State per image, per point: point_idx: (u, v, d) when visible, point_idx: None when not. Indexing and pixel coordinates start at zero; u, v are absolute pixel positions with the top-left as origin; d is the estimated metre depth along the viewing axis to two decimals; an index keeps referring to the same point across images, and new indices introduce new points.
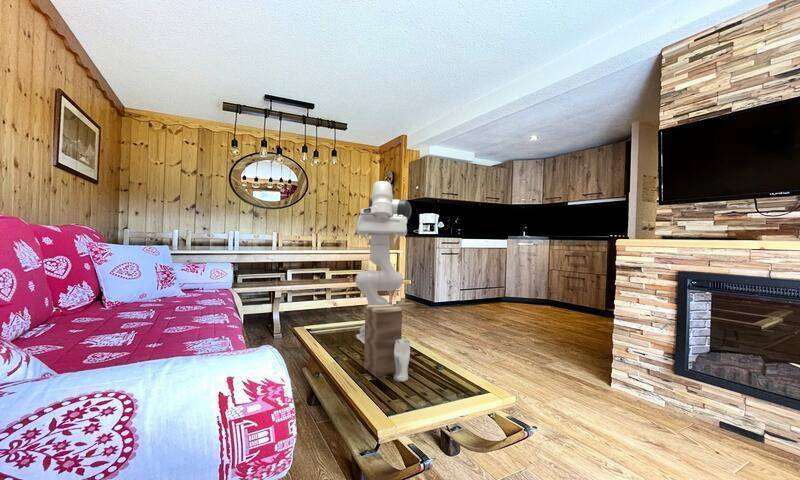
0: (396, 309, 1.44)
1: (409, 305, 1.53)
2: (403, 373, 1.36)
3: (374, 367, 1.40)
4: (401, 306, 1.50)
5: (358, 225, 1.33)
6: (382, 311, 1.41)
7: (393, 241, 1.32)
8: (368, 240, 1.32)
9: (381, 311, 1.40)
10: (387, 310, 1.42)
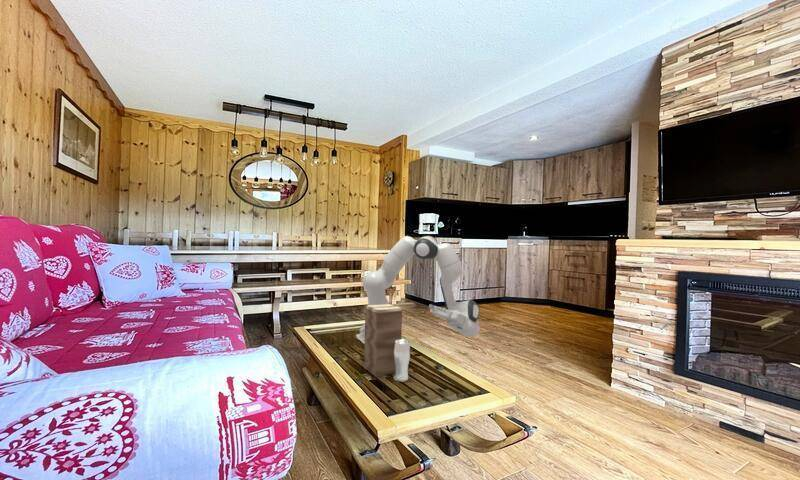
0: (396, 309, 1.44)
1: (409, 305, 1.53)
2: (403, 373, 1.36)
3: (374, 367, 1.40)
4: (401, 306, 1.50)
5: (456, 321, 1.58)
6: (382, 311, 1.41)
7: None
8: (443, 312, 1.59)
9: (381, 311, 1.40)
10: (387, 310, 1.42)
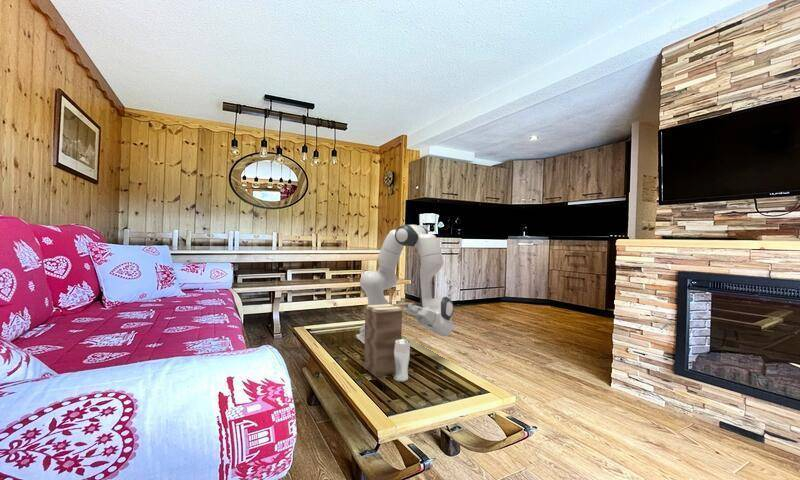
0: (396, 309, 1.44)
1: None
2: (403, 373, 1.36)
3: (374, 367, 1.40)
4: (401, 306, 1.51)
5: (426, 318, 1.48)
6: (382, 311, 1.41)
7: None
8: (409, 307, 1.52)
9: (381, 311, 1.40)
10: (387, 310, 1.42)
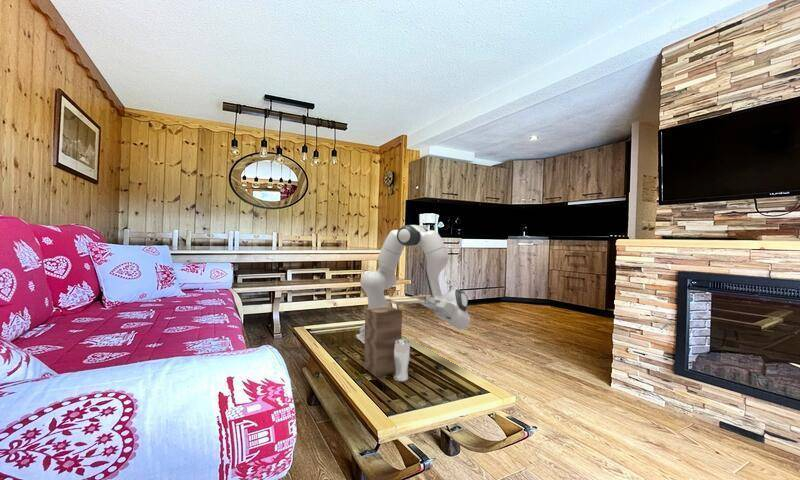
0: (415, 301, 1.42)
1: None
2: (403, 373, 1.36)
3: (374, 367, 1.40)
4: (419, 298, 1.48)
5: (445, 310, 1.46)
6: (401, 303, 1.38)
7: None
8: (427, 300, 1.49)
9: (400, 303, 1.38)
10: (406, 302, 1.40)
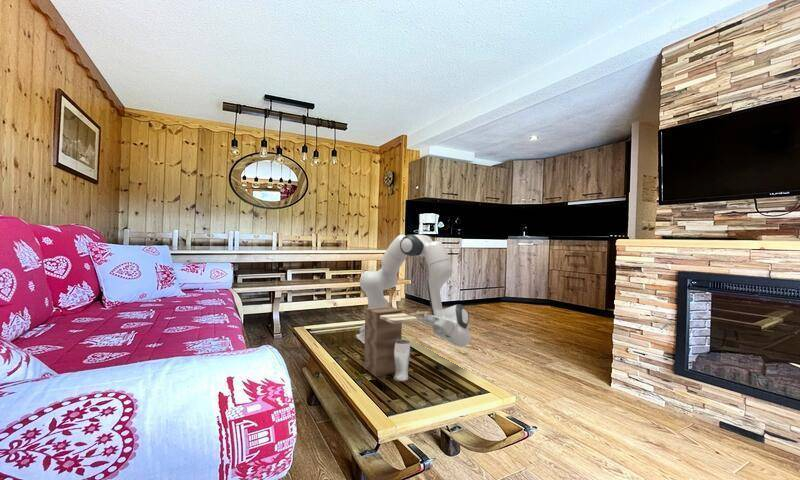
0: (412, 319, 1.34)
1: None
2: (403, 373, 1.36)
3: (374, 367, 1.40)
4: (417, 316, 1.40)
5: (444, 329, 1.38)
6: (398, 322, 1.31)
7: None
8: (425, 317, 1.41)
9: (396, 322, 1.30)
10: (403, 321, 1.32)
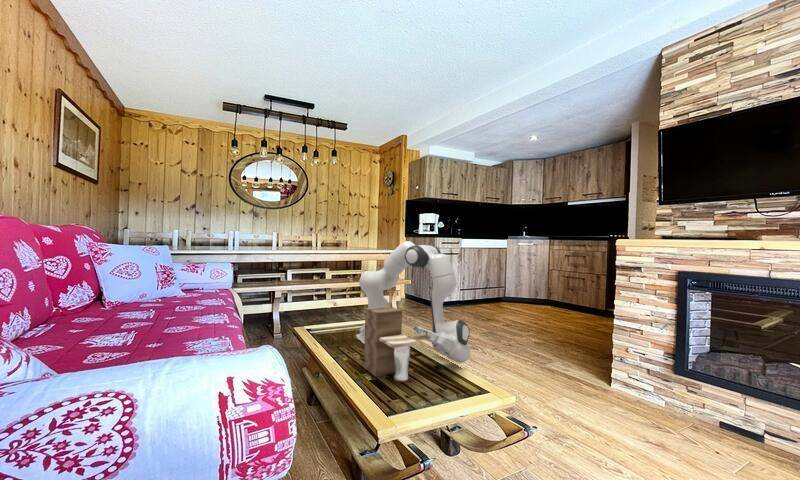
0: (412, 343, 1.34)
1: (425, 336, 1.43)
2: (403, 373, 1.36)
3: (374, 367, 1.40)
4: (416, 338, 1.40)
5: (443, 347, 1.38)
6: (397, 346, 1.31)
7: (414, 330, 1.47)
8: None
9: (396, 346, 1.30)
10: (402, 344, 1.32)
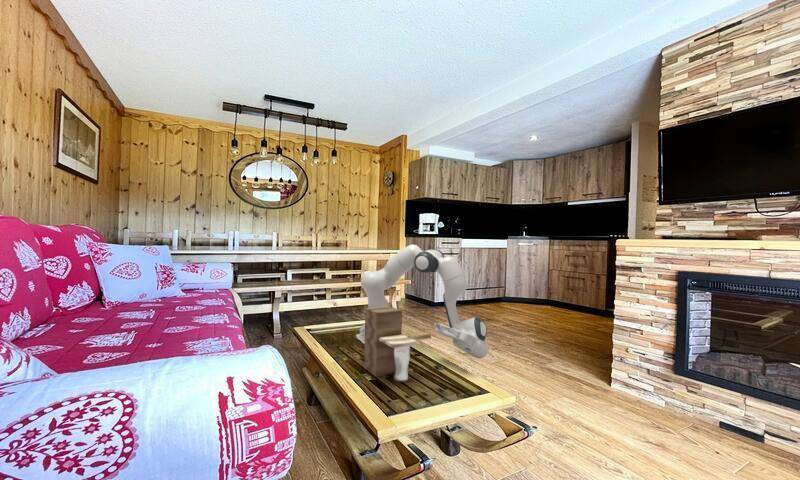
0: (412, 343, 1.34)
1: (425, 336, 1.43)
2: (403, 373, 1.36)
3: (374, 367, 1.40)
4: (416, 338, 1.40)
5: (465, 343, 1.45)
6: (397, 346, 1.31)
7: (436, 327, 1.54)
8: (450, 332, 1.46)
9: (396, 346, 1.30)
10: (402, 344, 1.32)
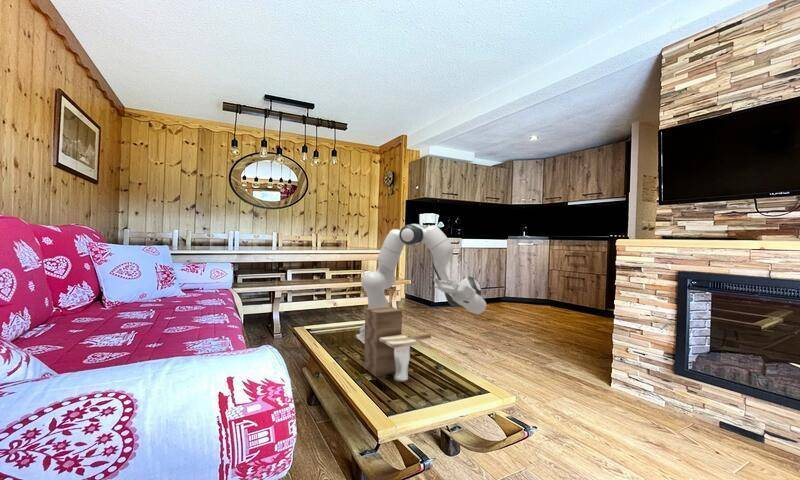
0: (412, 343, 1.34)
1: (425, 336, 1.43)
2: (403, 373, 1.36)
3: (374, 367, 1.40)
4: (416, 338, 1.40)
5: (463, 294, 1.49)
6: (397, 346, 1.31)
7: None
8: (449, 284, 1.50)
9: (396, 346, 1.30)
10: (402, 344, 1.32)
